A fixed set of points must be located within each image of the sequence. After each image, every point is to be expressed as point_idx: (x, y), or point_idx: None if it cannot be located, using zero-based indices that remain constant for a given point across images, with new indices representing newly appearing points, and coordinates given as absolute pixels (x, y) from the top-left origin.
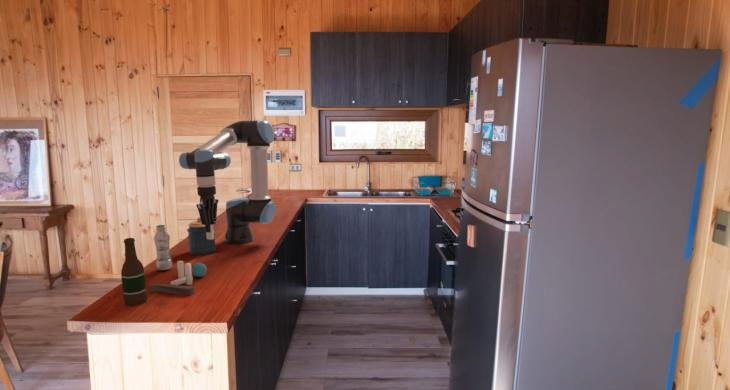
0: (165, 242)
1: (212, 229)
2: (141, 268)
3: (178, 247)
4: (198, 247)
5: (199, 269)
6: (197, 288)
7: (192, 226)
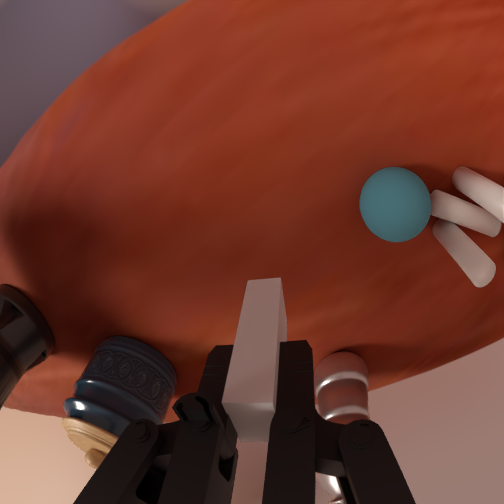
0: None
1: (253, 350)
2: None
3: None
4: (159, 379)
5: (425, 185)
6: (487, 116)
7: None
